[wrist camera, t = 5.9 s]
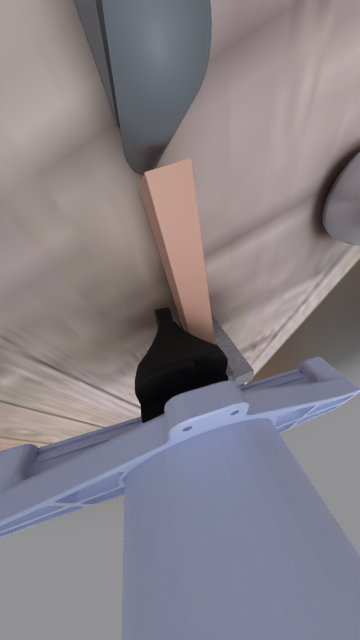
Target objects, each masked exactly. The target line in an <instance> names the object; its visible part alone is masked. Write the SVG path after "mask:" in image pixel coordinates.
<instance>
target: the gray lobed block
mask: <svg viewBox="0 0 360 640" xmlns="http://www.w3.org/2000/svg"><path fill="white" fill-rule="evenodd" d="M74 2H75V5H76V8H77V11H78V13H79V16H80V19H81V22H82V25H83V28H84V31H85V33H86V36H87V39H88V42H89V45H90V48H91V51H92V54H93V56H94V59H95V62H96V65H97V68H98V71H99V74H100V77H101V79H102V82H103V85H104V88H105V91H106V94H107V97H108V99H109V102H110V105H111V108H112V111H113V114H114V117H115V120H116V122H117V125H118V124H120V130H121V137H122V143H123V150H124V155H125V158H126V160H127V162H128V164H129V165H130V167H131V168H132V169H133V170H134V171H135V172H137V173H139V174H141V175H144V173H145V172H147V171H150V170H153V169H155V167H156V165H157V163H158V162H159V160H160V158H161V156H162V155H163V153H164V151H165V149H166V148H167V146H168V144H169V142H170V141H171V139H172V137H173V135H174V134H175V132H176V130H177V128H178V127H179V125H180V123H181V121H182V120H183V118H184V116H185V114H186V113H187V111H188V109H189V107H190V106H191V104H192V102H193V100H194V99H195V97H196V95H197V93H198V91H199V90H200V87H201V85H202V82H203V80H204V76H205V73H206V69H207V65H208V60H209V54H210V46H211V25H212V22H211V4H210V0H74Z"/></svg>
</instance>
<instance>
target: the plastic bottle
mask: <svg viewBox="0 0 360 640" xmlns="http://www.w3.org/2000/svg"><path fill="white" fill-rule="evenodd" d="M323 225H324V227H325V229H326V230H327V232H328V234H329V235H330V236H331V237H332V238H334V239H337V240H340V241H343V242H345V243H348V244H352V245H360V152H359V153H357V154H356V155H355V156H354V157H353V158H352V159H351V160H350V161H349V162H348V164H347V165H346V166H345V167H344V169H343V170H342V171H341V173H340V174H339V176H338V177H337V178H336V180H335V182H334V184H333V185H332V187H331V189H330V191H329V194H328V196H327V199H326V202H325V205H324V209H323Z"/></svg>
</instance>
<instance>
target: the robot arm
mask: <svg viewBox="0 0 360 640" xmlns="http://www.w3.org/2000/svg"><path fill="white" fill-rule="evenodd" d="M155 315H156V320H157V326H158V331H157V334H156V336H155V339H154V341H153V343H152V345H151V347H150V349H149V350H148V352H147V354H146V355H145V357H144V358H143V359H142V361H141V362H140V363H139V365H138V368H137V372H136V377H135V394H136V396H137V398H138V400H139V402H140V405H141V417H138V418H135V419H132V420H129V421H125V422H122V423H119V424H116V425H112V426H109V427H106V428H103V429H99V430H96V431H93V432H89V433H86V434H83V435H80V436H76V437H73V438H70V439H67V440H63V441H60V442H57V443H54V444H50V445H47V446H44V447H40V448H38V447H37V446H35V445H32V444H25V445H20V446H17V447H13V448H10V449H7V450H3V451H0V538H1V537H5V536H8V535H11V534H13V533H16V532H18V531H21V530H23V529H26V528H29V527H31V526H34V525H37V524H40V523H43V522H46V521H49V520H51V519H54V518H57V517H60V516H63V515H66V514H69V513H72V512H75V511H78V510H81V509H84V508H87V507H90V506H92V505H96V504H99V503H102V502H105V501H108V500H111V499H113V498H117V497H119V496H123V495H125V498H124V499H125V500H124V547H123V594H122V595H123V596H122V597H123V598H122V640H360V555H359V554H358V553H357V551H356V550H355V548H354V547H353V545H352V543H351V542H350V540H349V539H348V537H347V536H346V534H345V533H344V531H343V530H342V528H341V527H340V525H339V524H338V522H337V521H336V519H335V517H333V515H332V513H331V511H330V510H329V508H328V507H327V505H326V504H325V502H324V501H323V499H322V498H321V496H320V495H319V493H318V492H317V490H316V489H315V487H314V486H313V484H312V483H311V481H310V480H309V478H308V477H307V475H306V473H305V472H304V470H303V469H302V468H301V466H300V464H299V463H298V461H297V460H296V458H295V457H294V455H293V454H292V452H291V451H290V449H289V448H288V446H287V445H286V443H285V442H284V440H283V439H282V437H281V436H280V433H282V432H284V431H286V430H288V429H291V428H293V427H295V426H297V425H299V424H302V423H304V422H306V421H308V420H311V419H313V418H315V417H318V416H320V415H322V414H325V413H327V412H330V411H332V410H335V409H336V408H338V407H339V406H341V405H342V404H344V403H345V402H346V401H348V400H349V399H351V398H352V397H354V396H355V395H356V394H358V393H359V392H360V388H359V387H357V386H356V385H355V384H353V383H352V382H351V381H350V380H348V379H347V378H346V377H345V376H343V375H342V374H341V373H339V372H338V371H337V370H336V369H334V368H333V367H332V366H330V365H329V364H328V363H327V362H325V361H324V360H323V359H322V358H320V357H316V358H312V359H309V360H306V361H304V362H303V363H302V364H301V365H300V366H299V369H295V370H292V371H289V372H286V373H282V374H279V375H276V376H272V377H269V378H266V379H263V380H259V381H256V382H253V383H250V384H246V385H243V386H240V387H239V386H238V385H237V383H236V382H233V381H230V380H229V378H228V376H227V374H226V370H227V366H228V359H227V357H226V355H225V354H224V352H223V351H222V350H221V349H220V347H219V346H218V345H216V344H213V343H210V342H207V341H204V340H202V339H200V338H198V337H196V336H194V335H192V334H190V333H188V332H187V331H185V330H184V329H182V328H181V327H180V326H179V325H177V324H176V323H175V322H174V321H173V319H172V315H171V311H170V309H169V308H162V309H157V310H155ZM228 380H229V381H228Z"/></svg>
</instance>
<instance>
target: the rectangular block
mask: <svg viewBox="0 0 360 640" xmlns="http://www.w3.org/2000/svg"><path fill="white" fill-rule="evenodd" d="M139 191H140V194H141V197H142V201H143V204H144V207H145V210H146V213H147V216H148V220H149V223H150V226H151V229H152V232H153V235H154V239H155V242H156V245H157V248H158V251H159V254H160V258H161V261H162V264H163V267H164V270H165V274H166V277H167V280H168V283H169V286H170V289H171V293H172V296H173V299H174V302H175V305H176V308H177V312H178V315H179V318H180V321H181V323H180V325H181V328H182V329H184V330H185V331H187V332H188V333H190V334H192V335H194V336H196V337H198V338H200V339H202V340H204V341H207V342H210V343H213V344H215V339H214V332H213V324H212V316H211V308H210V301H209V293H208V285H207V277H206V270H205V262H204V254H203V247H202V239H201V231H200V223H199V216H198V208H197V200H196V192H195V185H194V177H193V169H192V162H191V158H189V159H186V160H183V161H179V162H176V163H173V164H169V165H166V166H163V167H160V168H156V169H153V170H150V171H147V172H145V173H144V175H143V178H142V181H141V184H140V187H139Z"/></svg>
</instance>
